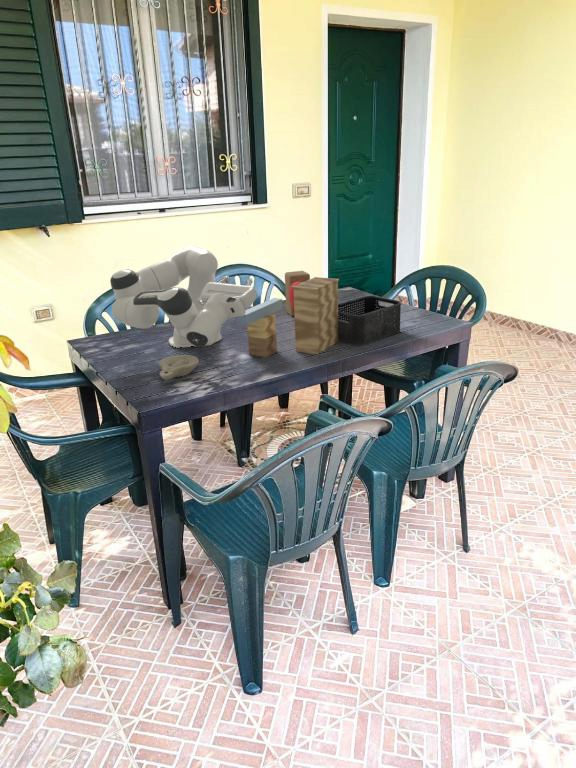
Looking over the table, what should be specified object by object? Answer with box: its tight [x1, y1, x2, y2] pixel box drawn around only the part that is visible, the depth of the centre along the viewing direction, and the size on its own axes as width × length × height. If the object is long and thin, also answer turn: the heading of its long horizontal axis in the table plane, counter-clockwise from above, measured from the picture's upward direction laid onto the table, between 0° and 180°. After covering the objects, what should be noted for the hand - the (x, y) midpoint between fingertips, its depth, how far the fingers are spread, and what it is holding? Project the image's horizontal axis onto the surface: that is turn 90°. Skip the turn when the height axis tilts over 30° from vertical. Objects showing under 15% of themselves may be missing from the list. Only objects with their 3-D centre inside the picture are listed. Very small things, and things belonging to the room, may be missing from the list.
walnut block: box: [247, 332, 278, 358], centre depth 227 cm, size 8×8×8 cm
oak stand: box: [293, 276, 340, 355], centre depth 229 cm, size 19×11×26 cm, turn 150°
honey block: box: [246, 313, 277, 339], centre depth 224 cm, size 8×8×8 cm
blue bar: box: [236, 297, 283, 326], centre depth 222 cm, size 26×4×4 cm, turn 150°
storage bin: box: [338, 295, 402, 346], centre depth 243 cm, size 29×19×13 cm
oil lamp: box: [158, 354, 200, 381], centre depth 207 cm, size 21×14×5 cm
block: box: [284, 270, 311, 318], centre depth 278 cm, size 10×10×20 cm
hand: (239, 278), depth 199 cm, fingers open, 8 cm apart
